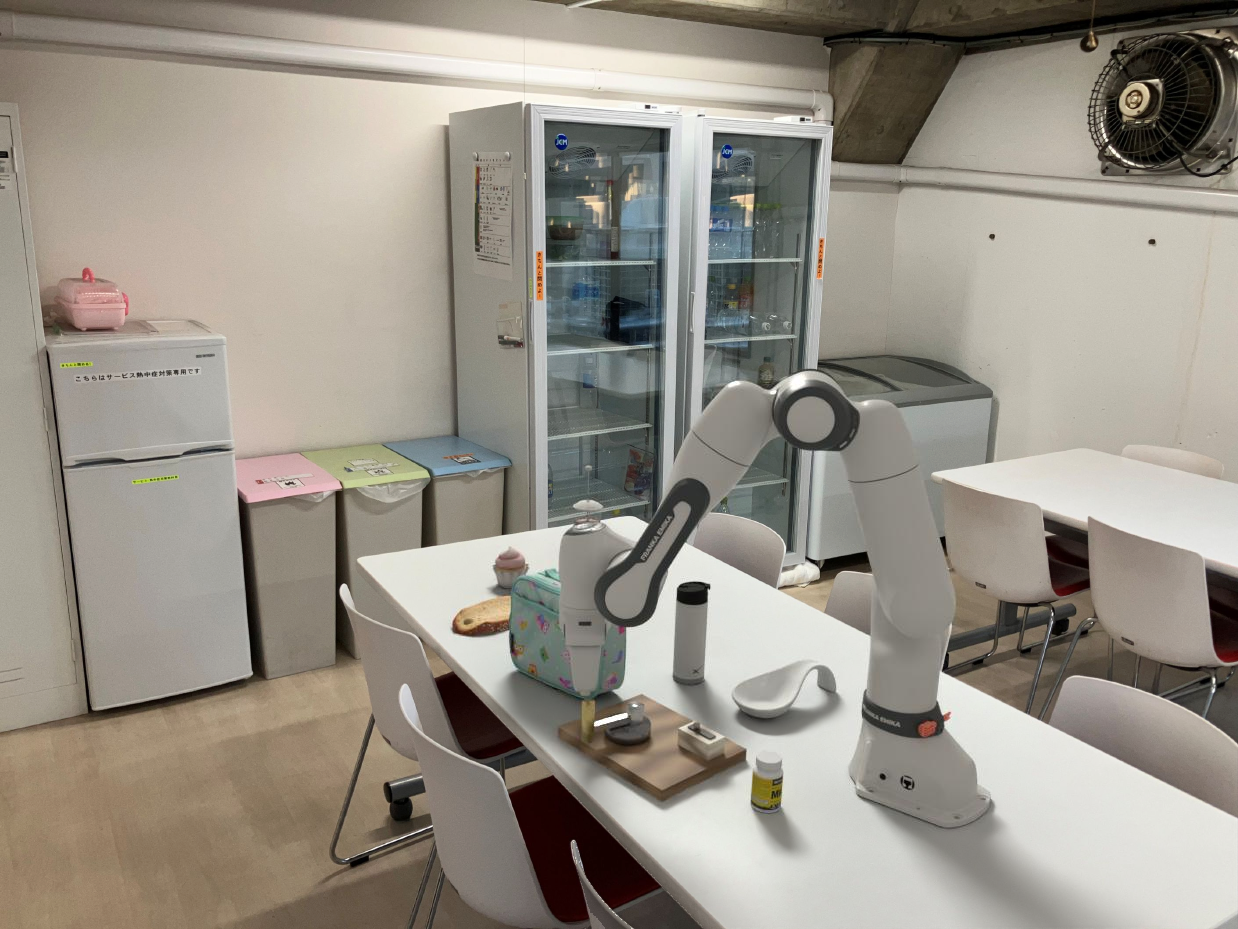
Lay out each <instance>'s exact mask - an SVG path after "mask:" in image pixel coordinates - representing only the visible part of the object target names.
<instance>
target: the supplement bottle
mask: <svg viewBox="0 0 1238 929" xmlns="http://www.w3.org/2000/svg"><path fill="white" fill-rule="evenodd" d="M782 766H783V757H782V755H781V754H779V753H778V752H776V751H773V750H761V751H758V752H757V753H756V755H755V765H753V767H752V774H751V776H752V777H751V791H750V806H751V807H752V808H753V809H754V810H756V811H758V812H759V813H764V814H772V813H776V812H777V811H779V810H780V809H781V806H782V796H783V794H782V793H783V780H784V769H783V767H782Z"/></svg>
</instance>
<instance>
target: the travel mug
mask: <svg viewBox="0 0 1238 929" xmlns="http://www.w3.org/2000/svg"><path fill="white" fill-rule="evenodd" d="M710 590H711V583H707V582H705V581H700V580H699V581H698V580H697V581H695V580H694V581H686V582H683V583H680V584H679V585H678V586H677V588H676V598H675V615H674V616H675V618H674V619H675V620H674V637H673V638H674V641H673V663H672V665H673V666H672V679H674V681H675V682H677V683H680V684H683V685H698V684H700V683H702V681H704V680H705V666H706V647H707V646H706V645H707V643H706V642H707V630H708V629H707V628H708V627H707V625H708V606H709V605H708V604H709V597H708V596H709V591H710Z"/></svg>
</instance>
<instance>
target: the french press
mask: <svg viewBox="0 0 1238 929" xmlns="http://www.w3.org/2000/svg"><path fill="white" fill-rule="evenodd" d="M584 470H585V471H587V492H590V490H589V479H590V471H593V467H592V466H591V465H586V466H585V468H584ZM572 507H573V508H574V509H575V510H576V511H578V512H585V513H586V512H587V513H586V516H579V517H576V518H575V519H574V524H572V525H573V526H576V525H578V524H581V523H586V522H600V523H602V522H601V519H600V518H598V517H593V516H590V515H591V514H592V513H596V512H599V511H601V510H602V509H603V507H604V506H603V505H602V504H601V503H599V502H597V501H595V500H592V499H583V500H579V501H578V502H576V503H574V504H572ZM590 513H591V514H590ZM573 526H572V527H573Z"/></svg>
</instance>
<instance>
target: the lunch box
mask: <svg viewBox="0 0 1238 929" xmlns="http://www.w3.org/2000/svg"><path fill="white" fill-rule="evenodd" d="M510 589H511V591H510V596H511V612H510V616H509V620H510V628H508V630H509V631H508V645H509V653H510V659H511V662H512V664H513V666H514V667H515V668H516V669H517V670H518V671H519V672H521V673H523V674H525V675H526V676H528V677H531V678H532V679H534V680H536V681H538V682H541V683H543V684H545V685H548V686H550V687H552V688H555V689H558V690H560V691H563V692H564V693H566V694H569V695H571V696H574V697H576V698H580V699H582V700H584V699H593V700H594V699H595V698H596V697H597V696H598V695H600V694H603V693H604V694H605V693H607V692H610V691H615V690H618V689H620V688H621V687H622V686H623V684H624V682H625V681H624V680H625V676H626V675H625V674H626V659H627V657H626V656H627V627H621V626H618V625H615V624H613V623H611V627H610V629H609V630H608V632H607V634H606V638H605V644H604V645H602V647H601V655H600V665H599V674H598V682H597V687H596V690H595V691H590V695H589V696H581V695H580V692H578V691H575V689H574V686H573V681H572V672H571V664H570V655H569V647H568V646H567V645H566V644H565V638H564V634H563V632H562V630H561V629H560V627H559V595H560V592H561V583H560V580H559V571H557V569H556V568H555V567H552V568H548V569H544V571H543V570H541V571H539V572H536V573H535V572H534V573H530V574H526V575H521V576H519V577H518V578H517V579H516V580H515V582H514V584H513V586H512V588H510Z"/></svg>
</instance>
